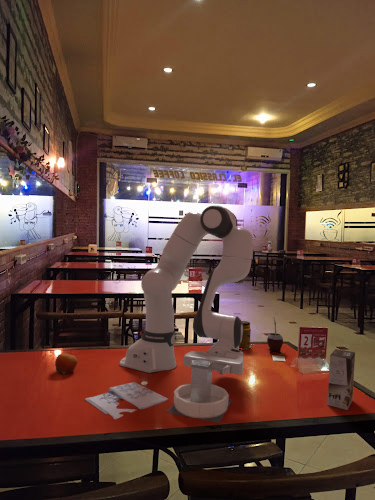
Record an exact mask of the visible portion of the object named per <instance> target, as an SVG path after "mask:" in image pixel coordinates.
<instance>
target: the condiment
mask: <svg viewBox="0 0 375 500" xmlns="http://www.w3.org/2000/svg"><path fill="white" fill-rule="evenodd" d="M241 321H242V323H243V326H244V335H243V340H242V343H241V344H240V345H239V348H242V349H241V350H240V351H243V350H249V349H248V348H250V347H251V332H252V331H251V322H250V321H247V320H246V321H245V320H241Z"/></svg>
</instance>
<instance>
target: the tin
mask: <svg viewBox="0 0 375 500" xmlns="http://www.w3.org/2000/svg"><path fill="white" fill-rule="evenodd" d="M212 365H213V362H212V361H205V360H198V359H197V360H196V361H194V362H193V363H192V364H191V367H192V370H191V373H190V375H191V376H190V378H191V379H190V383H191V400H190V402H195V403H210V402H211V391H212V384H213V382H212V381H213V370H212ZM191 367H190V368H191Z"/></svg>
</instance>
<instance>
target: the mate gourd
mask: <svg viewBox="0 0 375 500" xmlns="http://www.w3.org/2000/svg"><path fill="white" fill-rule="evenodd" d="M272 319H273V321H274V323H273V324H274V333H273V332H271V333H269V334H268V336H267V338H266V342H267V346H268V348H269V349H268V351H269V350H270V351H269V353H270V354H274V353H275V352H276V354H279V355H280V354H281V350H282V347H283V344H284V338H283V336H282V334H280V333H277V322H276V317H275V316H273V318H272ZM273 352H274V353H273Z"/></svg>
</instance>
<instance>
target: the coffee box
mask: <svg viewBox="0 0 375 500" xmlns="http://www.w3.org/2000/svg"><path fill="white" fill-rule="evenodd" d="M355 357H356V352H355V351H350V350H345V349H344V350H343V349H338V348H336V349H334V350H333V351H332V353H331V354H330V356H329V367H328V368H329V369H328V386H327V387H328V388H327V389H328V390H327V404H326V405H328V406H330V407H334V408H338V409H341V410H345V411H348V410H349V408H350V407H351V404H352V402H353V399H354V384H355V383H354V382H355V381H354V379H355V363H356V362H355V361H356V360H355V359H356V358H355Z"/></svg>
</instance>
